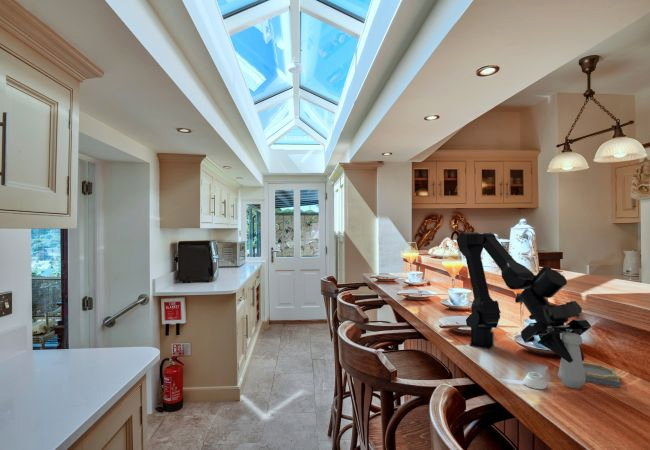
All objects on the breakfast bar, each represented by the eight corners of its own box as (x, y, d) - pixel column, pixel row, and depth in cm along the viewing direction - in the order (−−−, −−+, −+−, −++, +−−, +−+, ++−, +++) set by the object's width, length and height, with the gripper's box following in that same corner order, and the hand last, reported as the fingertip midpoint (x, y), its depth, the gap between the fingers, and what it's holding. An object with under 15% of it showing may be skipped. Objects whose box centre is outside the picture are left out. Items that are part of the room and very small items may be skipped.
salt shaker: (590, 391, 87) (590, 338, 87) (564, 389, 88) (564, 336, 88) (578, 381, 93) (578, 331, 93) (554, 379, 94) (554, 329, 94)
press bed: (571, 378, 95) (571, 370, 95) (570, 366, 103) (570, 359, 103) (620, 388, 89) (620, 379, 89) (615, 375, 98) (615, 367, 98)
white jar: (537, 381, 93) (519, 382, 93) (537, 370, 93) (519, 370, 93) (551, 390, 88) (531, 390, 88) (551, 378, 88) (531, 378, 88)
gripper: (529, 291, 92) (569, 348, 81) (584, 289, 97) (629, 342, 87) (506, 315, 100) (540, 370, 89) (558, 311, 105) (596, 363, 94)
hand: (577, 361), depth 89 cm, fingers closed on salt shaker, 3 cm apart
